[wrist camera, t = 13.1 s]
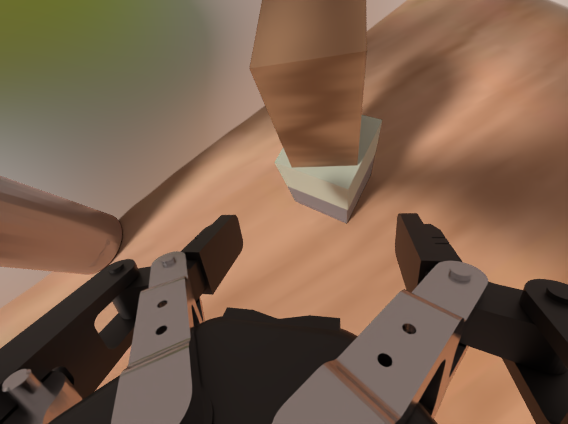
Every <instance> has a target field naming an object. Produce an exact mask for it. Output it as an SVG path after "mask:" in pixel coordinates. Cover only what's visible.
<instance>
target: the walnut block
mask: <svg viewBox="0 0 568 424" xmlns="http://www.w3.org/2000/svg"><path fill="white" fill-rule="evenodd" d="M366 53H367V36H366V0H262V4H261V9H260V14H259V20H258V25H257V31H256V36H255V42H254V47H253V52H252V58H251V63H250V71H251V73H252V76H253V78H254V80H255V83H256V85H257V87H258V90H259V92H260V94H261V96H262V99H263V101H264V104H265V106H266V108H267V111H268V113H269V115H270V118H271V120H272V122H273V125H274V127H275V129H276V132H277V134H278V136H279V139H280V141H281V143H282V146H283V148H284V150H285V153H286V155H287V157H288V160H289V162H290V164H291V167H292V168H296V167H327V166H357V164H358V152H359V140H360V127H361V115H362V102H363V90H364V78H365V65H366Z"/></svg>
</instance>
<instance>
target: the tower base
mask: <svg viewBox="0 0 568 424" xmlns="http://www.w3.org/2000/svg"><path fill="white" fill-rule="evenodd" d="M374 157H375V155H374ZM374 157H373V159H372V161H371V163H370V165H369V168H368V170H367V172H366V174H365V176H364V178H363V180H362V182H361V184H360V186H359V188H358V190H357V192H356V195H355V197H354V199H353V201H352V203H351V205H350V207H349V209H348V210H346V209H344V208H341V207H339V206H336V205H334V204H331V203H329V202H326V201H324V200H321V199H318V198H316V197H313V196H311V195H308V194H306V193H303V192H301V191H298V190H296V189H293V188H291V187H288V188H289V190H290V192H291V194H292V196H293V198H294V200H295V201H296V202H298V203H300V204H303V205H305V206H307V207H310V208H312V209H314V210H317V211H319V212H321V213H324V214H326V215H328V216H330V217H333V218H335V219H337V220H340V221H342V222H344V223H347V222H348V220H349V218H350V216H351V214H352V212H353V210H354V208H355V206H356V204H357V202H358V200H359V198H360V196H361V194H362V192H363V190H364V188H365V185H366V183H367V181H368V179H369V177H370V175H371V172H372V167H373V162H374Z"/></svg>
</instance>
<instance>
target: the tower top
mask: <svg viewBox="0 0 568 424" xmlns="http://www.w3.org/2000/svg"><path fill="white" fill-rule="evenodd" d="M381 124H382V120H381V119H377V118H373V117H369V116H365V115H361V127H360V140H359V152H358V164H357V166H327V167H296V168H292V167H291V164H290V162H289V160H288V157H287V155H286V153H285V150H284V148H283V149H282V150H281V152H280V154H279V156H278V157H277V159H276V161H275V164H276V166H277V168H278V170H279V171H280V173H281V175H282V177H283V179H284V181H285V183H286V185H287V186H288V187H291V188H293V189H296V190H298V191H301V192H303V193H306V194H308V195H311V196H313V197H316V198H318V199H321V200H324V201H326V202H329V203H331V204H334V205H336V206H339V207H341V208H344V209H346V210H348V209H349V207H350V205H351V203H352V201H353V199H354V197H355V195H356V192H357V190H358V188H359V186H360V184H361V182H362V180H363V178H364V176H365V174H366V172H367V170H368V168H369V165H370V163H371V161H372V159H373V157H374V155H375V153H376V149H377V144H378V139H379V134H380V129H381Z"/></svg>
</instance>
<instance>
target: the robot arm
mask: <svg viewBox="0 0 568 424" xmlns="http://www.w3.org/2000/svg"><path fill="white" fill-rule="evenodd" d="M121 239H122V228H121V225H120V222H119V221H118V220H117V218H116V217H114V216H112V215H109V214H107V213H104V212H101V211H98V210H95V209H93V208H90V207H87V206H84V205H82V204H79V203H76V202H73V201H70V200H68V199H65V198H62V197H59V196H56V195H53V194H51V193H48V192H45V191H42V190H39V189H36V188H33V187H31V186H28V185H25V184H22V183H19V182H17V181H13V180H11V179H8V178H5V177H2V176H0V267H10V268H22V269H32V270H43V271H54V272H65V273H76V274H93V273H96V272H98V271H100V270H102V269H103V268H104V269H103V270H102V271H100V272H99V273H98V274H96V275H95V276H94V277H93V278H91V279H90V280H89V281H87V282H86V283H85V284H83V285H82V286H81V287H80V288H78V289H77V290H76V291H74V292H73V293H72V294H71V295H69V296H68V297H67V298H65V299H64V300H63V301H61V302H60V303H59V304H58V305H56V306H55V307H54V308H52V309H51V310H50V311H49V312H47V313H46V314H45V315H43V316H42V317H41V318H39V319H38V320H37V321H36V322H34V323H33V324H32V325H30V326H29V327H28V328H27V329H25V330H24V331H23V332H21V333H20V334H19V335H17V336H16V337H15V338H14V339H12V340H11V341H10V342H8V343H7V344H6V345H5V346H3V347H2V348H1V349H0V424H437V422H436V421H435V420H434V418H435V416H436V414H437V411H438V409H439V407H440V405H441V402H442V400H443V397H444V394H445V392H446V390H447V387H448V385H449V383H450V381H451V380H452V378H453V376H454V374H455V372H456V370H457V368H458V366H459V364H460V362H461V361H462V359H463V357H464V355H465V353H466V351H467V349H468V347H469V346H470V347H473V348H476V349H479V350H481V351H484V352H487V353H490V354H493V355H496V356H499V357H501V358H502V359H503V361H504V363H505V365H506V367H507V369H508V371H509V373H510V374H511V376H512V378H513V380H514V382H515V384H516V386H517V388H518V390H519V392H520V394H521V396H522V398H523V399H524V401H525V403H526V405H527V407H528V409H529V411H530V413H531V415H532V417H533V419H534V421H535V423H536V424H568V285H567V284H564V283H561V282H557V281H553V280H546V279H534V280H530V281H528V282H527V283H526V284H525V287H524V289H523V290H519V289H515V288H511V287H506V286H502V285H498V284H494V283H491V282H488V278H487V276H486V275H485V274H484V273H483V272H482V271H481V270H479V269H478V268H476V267H474V266H472V265H469V264H466V263H463V262H462V261H461V259H460V258H459V256H458V255H457V253H456V252H455V250H454V249H453V248H452V246H451V245H450V244H449V242H448V240H447V239H446V238H445V236H444V235H443V233H442V232H441V230H439V229H438V228H436V227H435V226H433V225H431V224H423V222H422V221H421V219H420V217H419V216H418V214H417V213H402V214H398V217H397V227H396V239H395V253H396V257H397V261H398V264H399V267H400V270H401V273H402V277H403V280H404V283H405V286H406V290H405V289H404V290H402V291H400V292H399V293H398V294H397V295H396V296H395V298H394V299H393V300H392V301H391V302H390V303H389V304H388V305H387V306H386V307H385V308H384V309H383V310H382V311H381V312H380V313H379V315H378V316H377V317H376V318H375V319H374V320H373V321H372V322H371V323H370V324H369V325H368V326H367V327H366V328H365V329H364V330H363V332H362V333H361V334H360V335H359V336H356V335H354V334H353V333H350V332H348V331H346V330H343V329H341V328H340V318H331V317H321V316H310V315H309V316H301V317H292V318H284V319H277V318H274V317H271V316H268V315H265V314H263V313H260V312H257V311H254V310H248V309H238V308H228V307H227V309H226V311H225V313H224V315H223V316H222V317H217V318H213V319H210V320H207V321H205V318H204V312H203V306H202V301H201V299H200V296H201V295H202V294H212V295H213V294H214V292H215V290H216V289H217V287H218V286H219V284H220V283H221V281H222V280H223V278H224V277H225V275H226V274H227V272H228V271H229V269H230V268H231V266H232V265H233V263H234V262H235V260H236V259H237V257H238V255H239V254H240V252H241V251H242V248H243V239H242V234H241V230H240V226H239V221H238V218H237V216H236V215H221V216H220V217H219V218H218V219H217V220H216V221H215V222H214V223H213V224H212V225H210V226H208V227H206V228H205V229H204V230H202V231H201V232H200V233H199V235H197V236H196V237H195V239H193V240H192V241H191V242H190V243H189V244H188V245H187V246H186V247H185V248H184V249H183V250H182V251H181V252H171V253H167V254H165V255H162V256H161V257H159V258H157V259H156V260H155V261H154V262H153V263H152V265H151V267H145V268H139V269H138V268H137V265H136V263H135V261H134V260H131V259H126V260H121V261H118V262H115V263H113V264H111V265H109V266H107V265H108V264H109V263H110V262H111V260H112V259H113V258H114V256H115V255H116V253H117V251H118V249H119V246H120V244H121ZM106 266H107V267H106ZM105 267H106V268H105ZM111 302H113V304H114V305H115V307H116V309H117V311H118V312H119V313H118V314H117V315H116V316H115V317H114V318H113V319H112V320H111V321H110V322H109V324H108V325H107V326H106V327H105V328H104V329H103V330H102V331H101V332H100V333H99V334H98V332H97V330H96V329H95V326H94V322H95V319H96V317H97V315H98V314H99V313H100V312H101V311H102V310H103V309H104V308H105V307H106V306H107V305H109V304H110V303H111ZM131 344H132V346H131ZM130 346H131V352H130V358H129V364H128V366H127V368H126V369H124V370H123V371H122V373H121V375H119V376H118V377H116V378H115V379H113V380H112V381H110V382H109V383H107V384H106V385H104V386H103V387H101V388H100V389H98V390H96V389H97V387H98V386H99V385H100V384H101V382H102V381H103V380H104V379H105V377H106V376H107V375H108V374H109V372H110V371H111V370H112V368H113V367H114V366H115V365H116V363H117V362H118V361H119V360H120V358H121V357H122V356H123V355H124V353H125V352H126V351H127V349H128V348H129V347H130ZM95 390H96V391H95ZM94 391H95V392H94Z"/></svg>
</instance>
